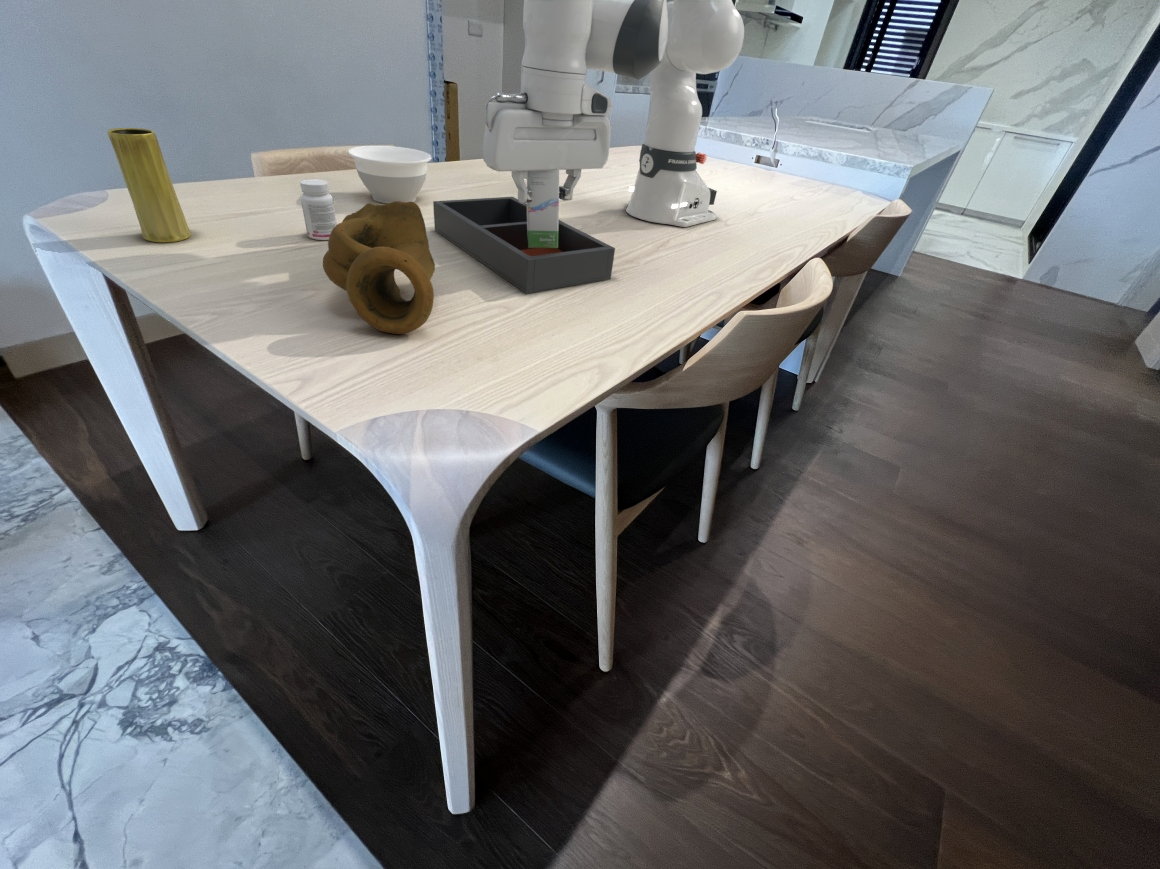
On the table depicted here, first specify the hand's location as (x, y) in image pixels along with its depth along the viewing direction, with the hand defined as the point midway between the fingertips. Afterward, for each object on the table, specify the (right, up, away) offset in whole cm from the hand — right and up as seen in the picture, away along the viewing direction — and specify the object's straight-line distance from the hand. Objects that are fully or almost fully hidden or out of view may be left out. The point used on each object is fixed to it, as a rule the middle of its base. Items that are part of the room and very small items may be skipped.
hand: (545, 200), depth 82 cm
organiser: (-6, -4, +11) cm, 13 cm away
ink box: (-1, -5, +6) cm, 7 cm away
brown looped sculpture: (-22, -17, -9) cm, 29 cm away
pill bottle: (-38, -3, +7) cm, 39 cm away
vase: (-58, -6, 0) cm, 58 cm away
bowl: (-34, +14, +30) cm, 47 cm away
